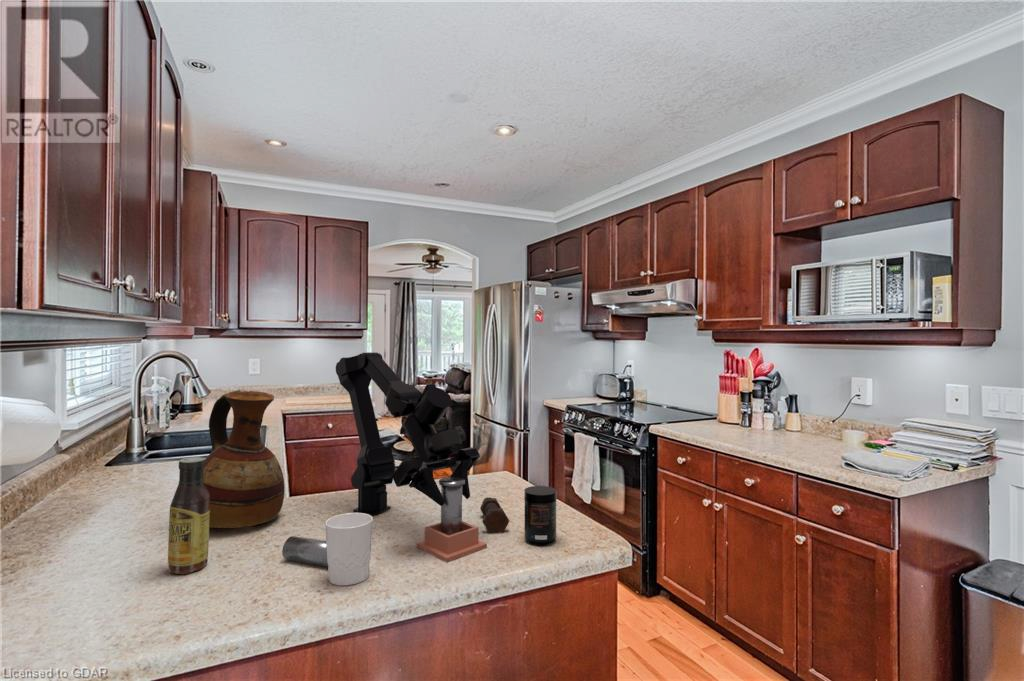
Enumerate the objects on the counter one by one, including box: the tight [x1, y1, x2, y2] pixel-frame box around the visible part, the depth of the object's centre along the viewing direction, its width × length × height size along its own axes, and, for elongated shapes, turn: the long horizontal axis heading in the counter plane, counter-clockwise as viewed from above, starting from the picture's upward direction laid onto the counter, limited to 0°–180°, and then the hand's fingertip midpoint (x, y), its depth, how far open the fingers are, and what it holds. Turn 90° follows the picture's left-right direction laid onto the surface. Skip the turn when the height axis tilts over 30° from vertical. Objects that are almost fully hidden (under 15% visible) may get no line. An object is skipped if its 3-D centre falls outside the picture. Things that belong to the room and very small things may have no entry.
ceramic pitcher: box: [203, 390, 285, 529], centre depth 117 cm, size 20×20×30 cm
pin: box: [281, 535, 328, 567], centre depth 96 cm, size 12×4×4 cm
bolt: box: [479, 497, 510, 534], centre depth 118 cm, size 6×5×15 cm
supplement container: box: [523, 485, 558, 547], centre depth 107 cm, size 7×7×10 cm
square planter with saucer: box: [415, 520, 488, 563], centre depth 103 cm, size 10×10×4 cm
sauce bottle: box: [167, 456, 210, 575], centre depth 93 cm, size 6×6×20 cm
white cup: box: [325, 512, 374, 586], centre depth 90 cm, size 8×8×10 cm
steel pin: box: [438, 476, 465, 535], centre depth 103 cm, size 5×5×13 cm
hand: (456, 501), depth 102 cm, fingers open, 6 cm apart
